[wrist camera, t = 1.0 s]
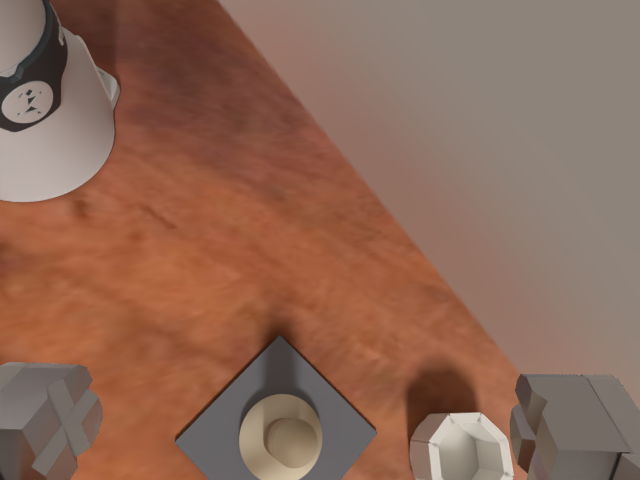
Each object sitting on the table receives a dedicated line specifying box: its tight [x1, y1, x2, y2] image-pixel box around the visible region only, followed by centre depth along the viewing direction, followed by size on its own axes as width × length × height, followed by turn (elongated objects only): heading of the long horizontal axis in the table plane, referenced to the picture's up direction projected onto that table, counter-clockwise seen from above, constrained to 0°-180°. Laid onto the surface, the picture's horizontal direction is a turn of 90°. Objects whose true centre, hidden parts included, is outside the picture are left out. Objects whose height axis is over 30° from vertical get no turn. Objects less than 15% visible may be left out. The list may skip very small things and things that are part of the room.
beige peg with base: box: [239, 394, 322, 480], centre depth 35 cm, size 7×7×9 cm
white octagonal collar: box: [409, 413, 514, 480], centre depth 39 cm, size 7×7×4 cm
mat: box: [175, 335, 377, 480], centre depth 39 cm, size 12×12×1 cm
